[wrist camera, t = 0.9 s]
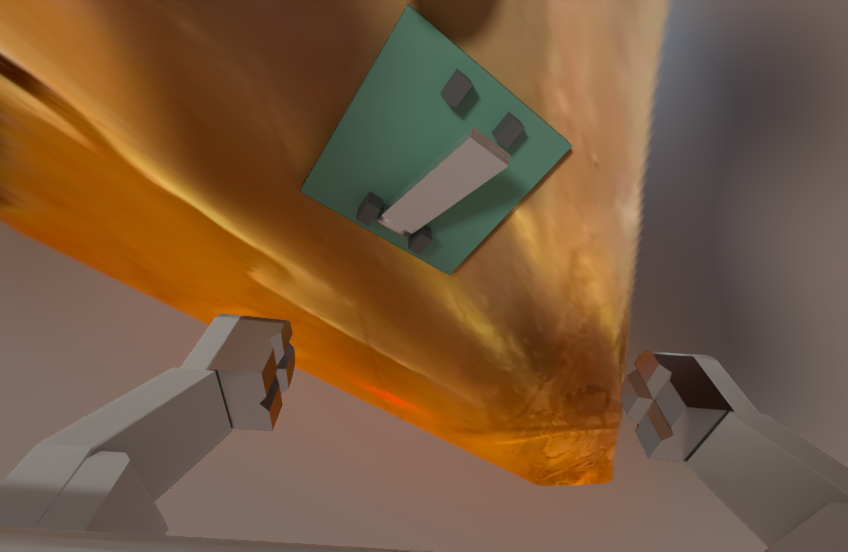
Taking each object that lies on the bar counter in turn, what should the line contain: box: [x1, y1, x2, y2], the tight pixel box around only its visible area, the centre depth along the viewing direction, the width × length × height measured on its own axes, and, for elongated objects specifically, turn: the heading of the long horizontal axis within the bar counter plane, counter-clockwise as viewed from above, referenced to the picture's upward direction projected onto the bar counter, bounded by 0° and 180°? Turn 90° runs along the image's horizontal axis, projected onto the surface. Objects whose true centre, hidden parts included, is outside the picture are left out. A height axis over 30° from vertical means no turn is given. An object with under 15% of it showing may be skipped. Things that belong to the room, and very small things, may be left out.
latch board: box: [300, 4, 572, 275], centre depth 40 cm, size 20×20×4 cm
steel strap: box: [375, 127, 511, 239], centre depth 38 cm, size 4×16×2 cm, turn 144°
